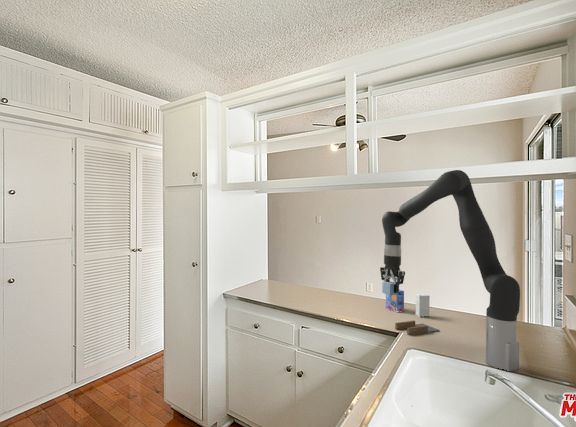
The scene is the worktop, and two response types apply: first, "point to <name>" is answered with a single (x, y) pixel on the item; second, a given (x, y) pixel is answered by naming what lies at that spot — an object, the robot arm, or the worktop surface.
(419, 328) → the channel
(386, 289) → the block
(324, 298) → the worktop surface
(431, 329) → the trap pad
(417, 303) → the skincare box
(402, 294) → the ink cartridge box
